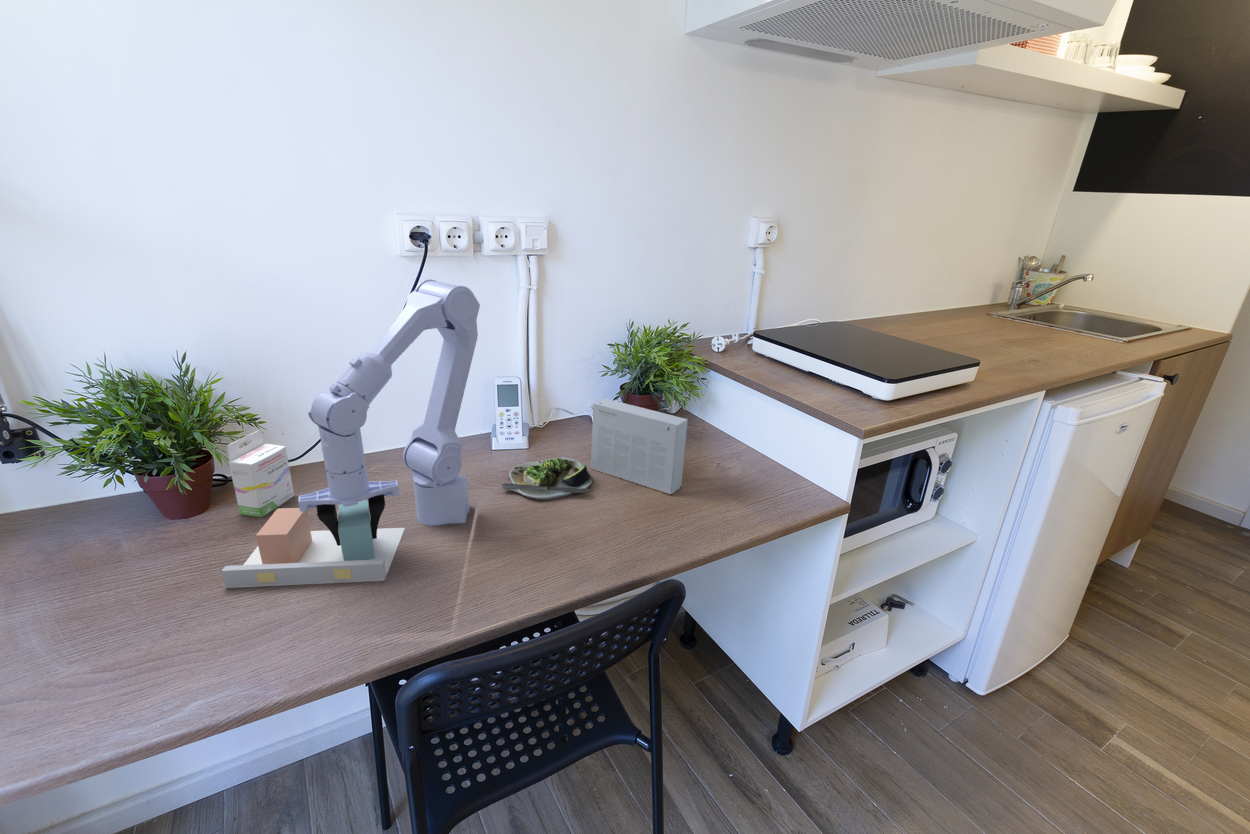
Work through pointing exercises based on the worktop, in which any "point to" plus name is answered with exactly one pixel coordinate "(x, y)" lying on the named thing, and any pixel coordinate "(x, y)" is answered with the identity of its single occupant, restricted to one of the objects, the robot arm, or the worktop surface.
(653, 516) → the worktop surface
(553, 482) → the salad plate
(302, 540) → the terracotta carton
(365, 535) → the teal carton
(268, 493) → the ink box
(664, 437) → the skincare box
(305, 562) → the shelf board
